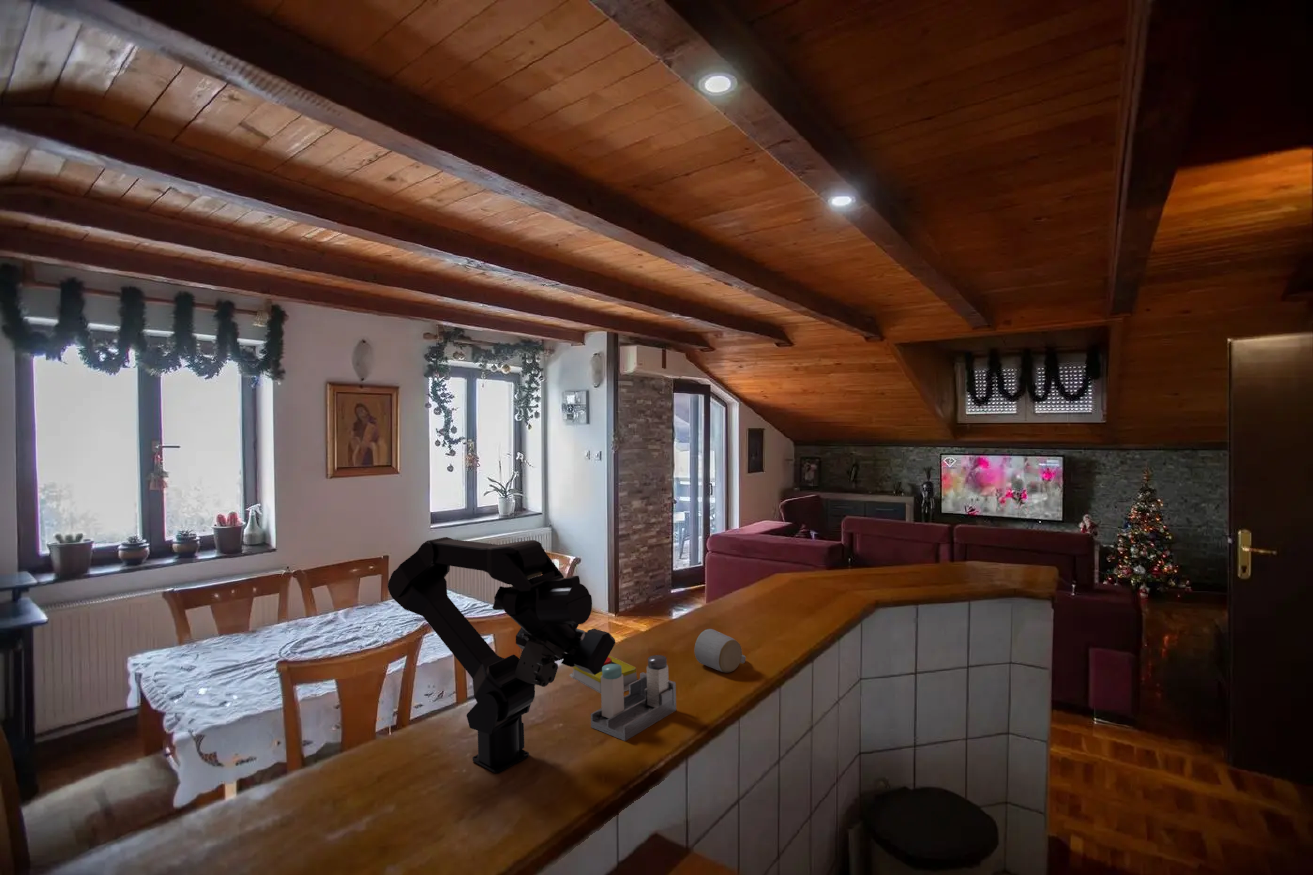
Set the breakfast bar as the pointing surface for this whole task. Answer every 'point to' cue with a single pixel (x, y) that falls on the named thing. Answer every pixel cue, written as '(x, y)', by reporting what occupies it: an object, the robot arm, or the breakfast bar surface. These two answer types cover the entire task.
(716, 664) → the ceramic mug
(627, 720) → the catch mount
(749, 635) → the breakfast bar surface
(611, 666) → the plunger
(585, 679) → the emergency button
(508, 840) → the breakfast bar surface
